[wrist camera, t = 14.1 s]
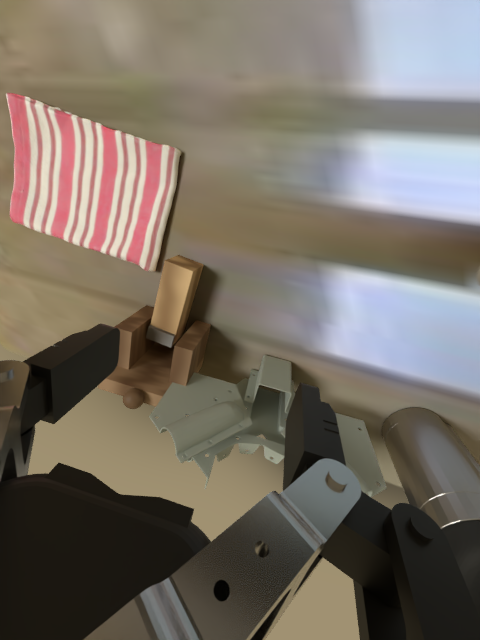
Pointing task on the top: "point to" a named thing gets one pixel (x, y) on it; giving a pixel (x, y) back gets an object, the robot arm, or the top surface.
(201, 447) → the bracket
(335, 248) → the top surface
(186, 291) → the tan rectangular block
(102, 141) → the dish towel
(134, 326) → the wooden block holder
